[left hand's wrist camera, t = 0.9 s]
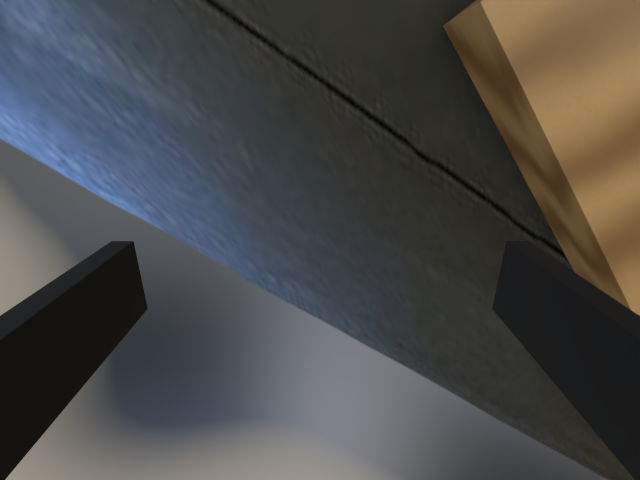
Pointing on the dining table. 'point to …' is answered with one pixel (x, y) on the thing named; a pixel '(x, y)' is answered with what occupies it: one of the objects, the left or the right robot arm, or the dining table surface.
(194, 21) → the dining table surface
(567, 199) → the wide beam
